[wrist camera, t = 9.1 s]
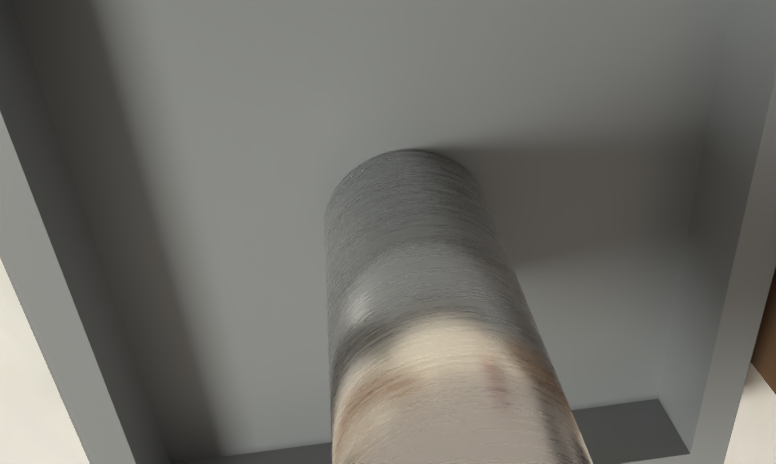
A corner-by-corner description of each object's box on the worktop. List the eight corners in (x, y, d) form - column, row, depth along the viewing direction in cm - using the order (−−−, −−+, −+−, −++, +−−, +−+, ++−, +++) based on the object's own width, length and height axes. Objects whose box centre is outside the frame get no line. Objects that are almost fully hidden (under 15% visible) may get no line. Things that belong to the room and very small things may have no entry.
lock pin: (487, 141, 13) (692, 570, 6) (486, 280, 14) (647, 741, 8) (313, 159, 12) (320, 620, 6) (333, 297, 14) (357, 781, 7)
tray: (795, -209, 11) (899, -205, 9) (675, 400, 18) (720, 474, 16) (-77, -131, 10) (-160, -110, 8) (148, 471, 17) (130, 556, 15)
